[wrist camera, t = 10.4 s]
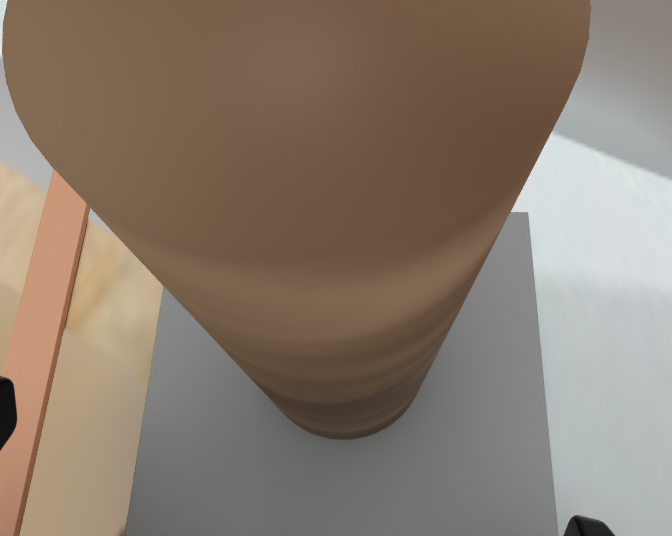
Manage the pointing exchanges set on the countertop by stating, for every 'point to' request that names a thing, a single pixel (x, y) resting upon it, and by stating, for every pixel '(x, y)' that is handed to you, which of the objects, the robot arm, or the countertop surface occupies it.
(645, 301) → the countertop surface
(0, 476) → the terracotta line strip
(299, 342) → the smooth brown cylinder
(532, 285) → the mat
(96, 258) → the countertop surface
